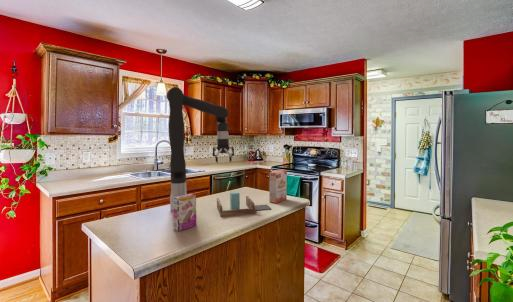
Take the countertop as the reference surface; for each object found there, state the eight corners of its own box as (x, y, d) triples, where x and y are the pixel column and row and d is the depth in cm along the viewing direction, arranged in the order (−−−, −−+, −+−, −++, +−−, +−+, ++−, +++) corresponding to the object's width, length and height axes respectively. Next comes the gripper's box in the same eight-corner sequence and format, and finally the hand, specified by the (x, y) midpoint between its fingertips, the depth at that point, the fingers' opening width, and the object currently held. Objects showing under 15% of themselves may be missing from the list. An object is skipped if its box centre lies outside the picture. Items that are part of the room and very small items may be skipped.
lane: (216, 207, 171) (216, 198, 171) (247, 204, 176) (247, 196, 176) (220, 216, 153) (220, 206, 152) (255, 213, 158) (254, 203, 157)
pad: (251, 206, 173) (251, 205, 173) (266, 205, 175) (266, 204, 175) (255, 210, 163) (255, 210, 163) (271, 209, 166) (271, 208, 166)
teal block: (230, 209, 167) (230, 192, 166) (238, 208, 168) (238, 191, 167) (231, 211, 162) (231, 193, 161) (239, 211, 163) (239, 193, 163)
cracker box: (276, 203, 179) (276, 172, 177) (269, 202, 182) (268, 172, 181) (287, 199, 190) (287, 170, 188) (280, 198, 193) (279, 169, 192)
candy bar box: (178, 232, 130) (177, 199, 129) (172, 229, 133) (171, 197, 132) (197, 225, 139) (196, 194, 137) (191, 223, 142) (190, 193, 141)
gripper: (211, 138, 173) (212, 163, 174) (233, 138, 174) (234, 162, 176) (212, 138, 180) (213, 162, 182) (233, 137, 182) (234, 161, 183)
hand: (223, 162), depth 179 cm, fingers open, 8 cm apart
